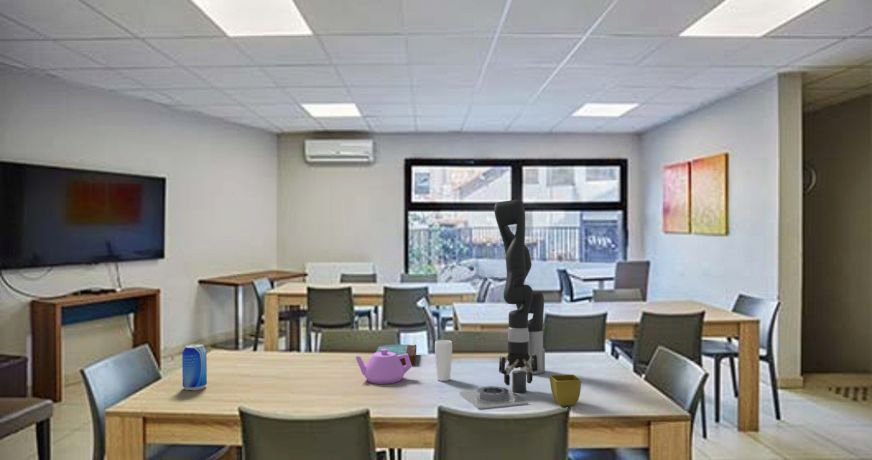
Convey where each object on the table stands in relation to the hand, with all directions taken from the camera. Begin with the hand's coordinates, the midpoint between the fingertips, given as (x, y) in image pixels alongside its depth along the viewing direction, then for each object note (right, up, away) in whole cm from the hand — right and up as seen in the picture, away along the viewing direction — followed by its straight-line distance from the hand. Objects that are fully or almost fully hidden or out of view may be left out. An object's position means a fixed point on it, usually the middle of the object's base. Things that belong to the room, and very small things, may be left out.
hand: (518, 384), depth 220 cm
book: (-48, -3, +52) cm, 71 cm away
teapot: (-50, -3, +17) cm, 53 cm away
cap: (0, -3, 0) cm, 3 cm away
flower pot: (+14, -3, -16) cm, 21 cm away
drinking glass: (-27, -3, +17) cm, 32 cm away
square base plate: (-10, -3, -10) cm, 14 cm away
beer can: (-120, -3, +7) cm, 121 cm away
